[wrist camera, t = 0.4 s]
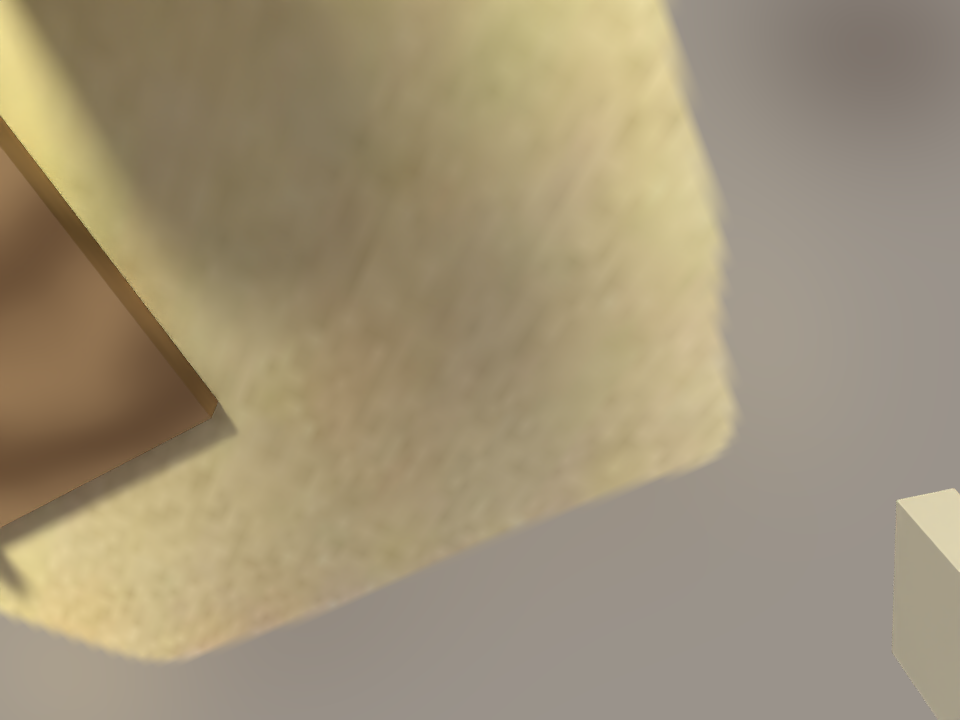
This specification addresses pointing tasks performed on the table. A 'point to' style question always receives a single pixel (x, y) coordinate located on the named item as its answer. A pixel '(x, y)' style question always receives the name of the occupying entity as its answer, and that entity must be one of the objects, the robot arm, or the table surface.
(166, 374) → the shelf board
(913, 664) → the robot arm
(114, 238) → the table surface
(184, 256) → the table surface
